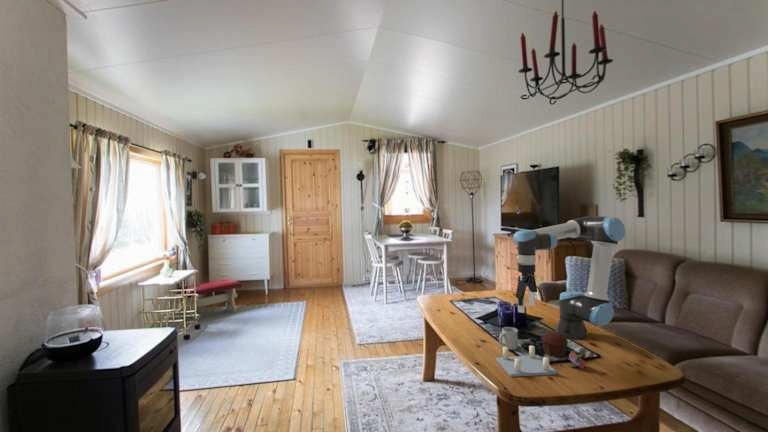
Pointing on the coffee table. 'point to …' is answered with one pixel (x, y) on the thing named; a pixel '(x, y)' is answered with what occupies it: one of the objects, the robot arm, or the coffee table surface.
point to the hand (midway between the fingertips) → (526, 308)
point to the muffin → (554, 344)
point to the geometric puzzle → (577, 360)
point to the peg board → (525, 364)
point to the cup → (509, 338)
